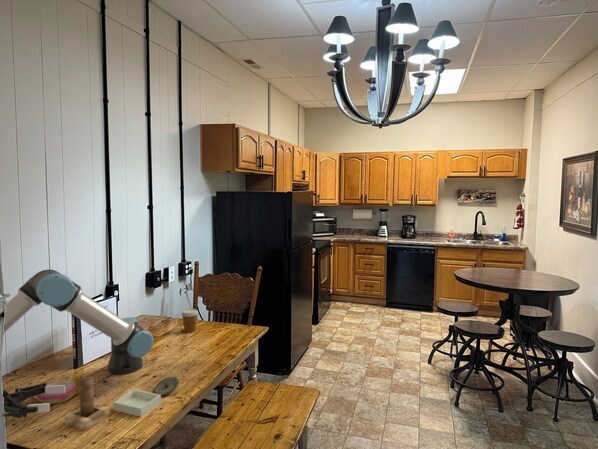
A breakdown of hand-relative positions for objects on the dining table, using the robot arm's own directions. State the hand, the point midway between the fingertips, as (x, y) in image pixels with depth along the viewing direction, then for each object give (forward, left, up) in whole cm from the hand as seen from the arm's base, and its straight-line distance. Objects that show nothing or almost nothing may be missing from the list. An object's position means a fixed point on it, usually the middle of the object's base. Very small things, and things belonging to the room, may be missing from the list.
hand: (57, 397), depth 147 cm
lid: (+21, +33, -9) cm, 40 cm away
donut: (-16, +13, -9) cm, 23 cm away
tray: (+18, +19, -9) cm, 28 cm away
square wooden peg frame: (+8, +5, -9) cm, 13 cm away
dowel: (+8, +5, -9) cm, 13 cm away
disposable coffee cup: (-14, +99, -9) cm, 100 cm away
